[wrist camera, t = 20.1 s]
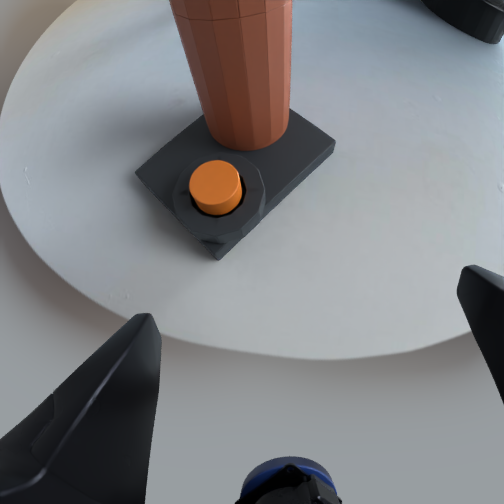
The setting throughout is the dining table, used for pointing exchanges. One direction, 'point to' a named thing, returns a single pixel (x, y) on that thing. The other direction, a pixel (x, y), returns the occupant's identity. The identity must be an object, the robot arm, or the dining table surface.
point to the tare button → (216, 187)
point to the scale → (250, 173)
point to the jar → (239, 66)
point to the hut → (472, 17)
